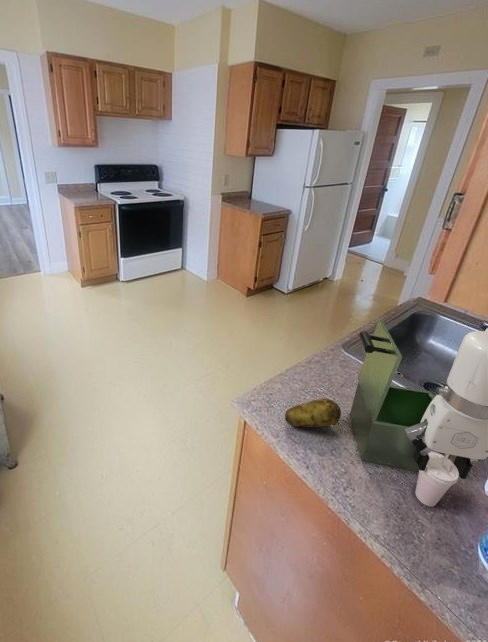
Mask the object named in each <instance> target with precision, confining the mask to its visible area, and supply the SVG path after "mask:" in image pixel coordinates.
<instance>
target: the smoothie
mask: <svg viewBox="0 0 488 642" xmlns="http://www.w3.org/2000/svg"><path fill="white" fill-rule="evenodd" d="M428 455H429V461H428V463H427V465H426V468H425V470H424V471H421V470H419V472H418V474H417V475H418V476H417V481H416V487H415V492H414V493H415V496H416V498H417V500H418V501H419V502H421V504H423V505H425V506H426V507H429V508H432V507H435V506H436V505H437V504H438V503H439V502H440V500H442V498H443V496H444V495H445V494H446V493H447V492H448V490H449V489H450V488H451V487H452V486H453V485H455V484H457V482H458V481H459V478H460V477H459V472H458V469H457V468H456V466H455V465H454V464H453V463H454V462H453V461H452V460H450V458H449V459H448V457H449V454H445V456H443V455H441V454H439V453H436V452H433V451H431V452H430V453H429V454H428Z"/></svg>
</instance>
